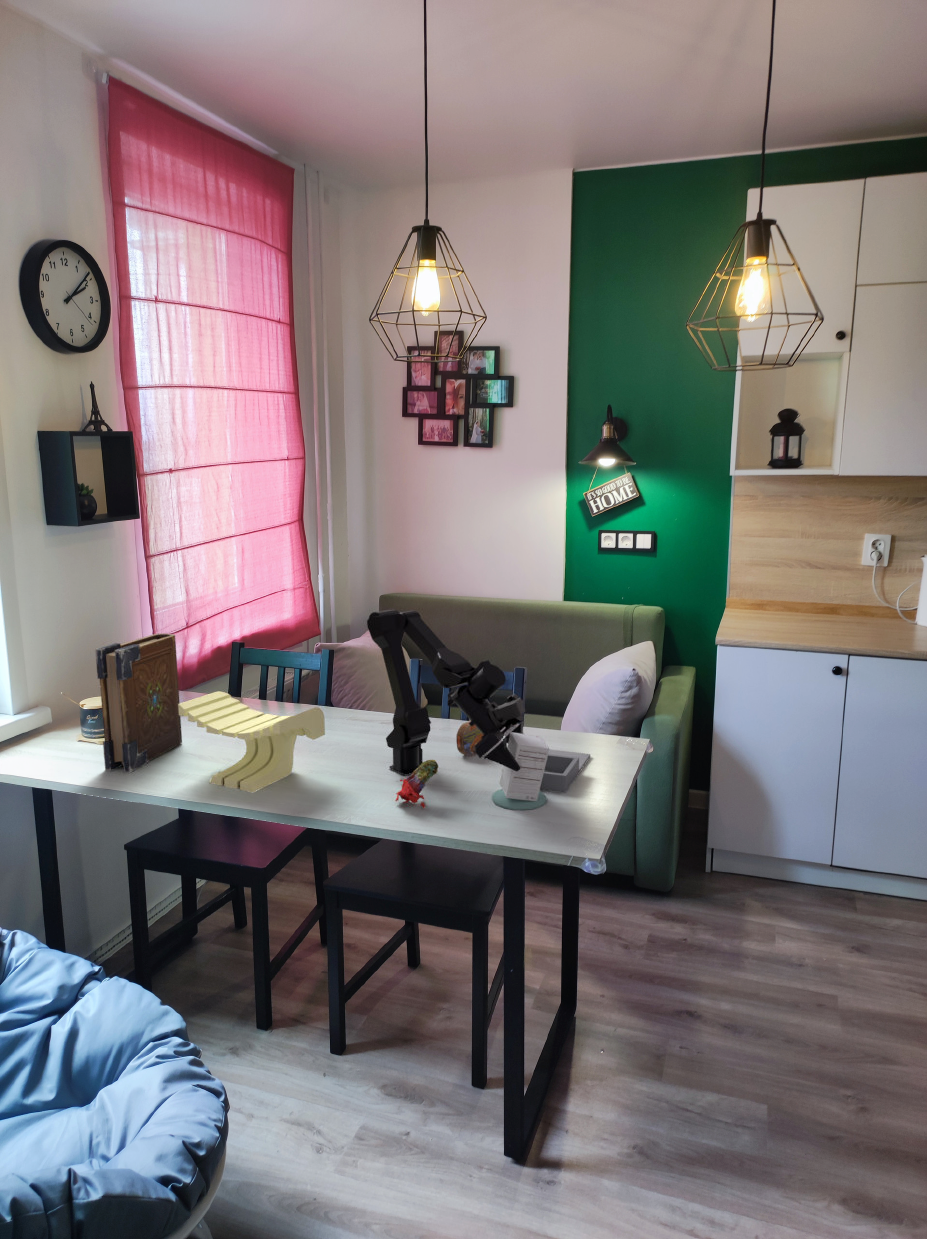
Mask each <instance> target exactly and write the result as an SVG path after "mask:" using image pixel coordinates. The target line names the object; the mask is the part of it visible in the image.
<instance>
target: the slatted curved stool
mask: <svg viewBox="0 0 927 1239" xmlns="http://www.w3.org/2000/svg"><path fill="white" fill-rule="evenodd" d="M178 708H179V716H180V717H187V722H192V723H195V722H196V727H198V728H205V729H206V730H205V731H206V733H207V734H213V735H221V736H224V737H229V738H237V739H239V740H243V741H245V746H246V752H245V754H244V755H243V757H242V758H240V760H238V761H237V762H236V763H235V764H233V765H231V766H229V767H228V768H226V769H224V770H221V771H219V772H217V773H215V774H213V775H211V779H210V781H209V783H210V784H214V785H218V786H224V787H227V788H231V789H236V790H237V789H239V790H240V791H243V790H244V792H248V791H249V792H248V793H252V792H253V793H255V792H257V791H259V790H261V789H264V788H265V787H267V786H269V785H271V784H273V782H274V783H276V782H278V781H279V779H280V780H282V779H284V778H286V777H288V776H289V775H291V773H292V771H293V768H294V767H293V766H294V750H295V745H296V741H297V738H298V737H299V736H300V737H304V736H306V737H307V738H308V739H311V740H312V741H314V740H317V739H319V738H321V737H323V736H325V735H326V728H325V727H326V726H325V724H326V722H325V714H324V712H323V710H322V709H321V708H320V707H317V706H315V707H312V708H310V709H307V710H305V711H302V712H301V713H297V714H294V715H281V716H280V715H274V714H270V713H264V712H262V711H258V710H255V709H252V708H250V706H249V705H247V704H245V703H242V702H241V701H240V700H238V699H236V698H233V697H232V695H231V694H229V693H227V692H225V691H214V692H211V693H208V694H205V695H201V696H198V697H195V698H193V699H190V700H186V701H184V702H180V704H178ZM287 775H288V776H287ZM283 777H284V778H283ZM281 778H282V779H281ZM275 781H276V782H275ZM258 789H259V790H258ZM256 790H257V791H256Z"/></svg>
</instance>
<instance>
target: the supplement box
mask: <svg viewBox="0 0 927 1239" xmlns="http://www.w3.org/2000/svg"><path fill="white" fill-rule="evenodd" d="M507 749H508V750H509V751H510V753H511V754H512V756H513V757H514V759H515V760H516V761H517V763H518V765H519V766H520V770H519V771H514V770H512V769H510V768H508V767H506V766H503V765H502V768H501V774H500V777H499V781H498V784H499V786H500V787H501V789H502V790H503V792H504V794H505V796H506V798H511V799H519V800H527V801H537V799H538V794H539V791H540V790H541V789H540V786H541V782H542V778H543V773H544V772H545V771H544V769H545V765H546V761H547V757H548V753H549V749H550V747H548V745H547V743H546V742H545V741H544V739H543V738H542V736H540V735H535V734H526V733H523V734H520V733H512V732H511V733H510V738H509V742H508V743H507Z"/></svg>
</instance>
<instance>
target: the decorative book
mask: <svg viewBox="0 0 927 1239" xmlns="http://www.w3.org/2000/svg"><path fill="white" fill-rule="evenodd" d="M176 641H177V640H176V635H175V634H173V633H154V634H150V635H146V636H143V637H139V638H136V639H134V640H130V641H127V642H123V643H118V642H113V643H111V644H107V645H103V646H101V647H98V648H95V649H94V650H95V663H96V676H97V679H98V680H99V685H100V687H99V688H100V697H101V698H100V702H101V712H102V722H103V724H102V725H103V736H104V741H102V747H103V758H104V760H103V761H104V770H105V771H108V772H110V771H111V772H112V771H114V770H116V769H118V768H120V767H122V766H123V772H124V773H128V774H131V773H132V772H134V771H136V770H138V769H141V768H142V767H144V766H146V765H148V764H149V762H150V761H151V760H153V759H155V758H156V757H158V756H160V755H162V754H165V753H166V752H167V751H170V750H172V749H173V748H175V747H177V746H179V745H181V744H182V743H183V736H182V719H181V717H182V716H179V708H178V704H180V703H181V702H180V690H179V689H180V688H179V674H178V673H179V672H178V659H177V658H178V657H177V646H176V644H177V642H176Z"/></svg>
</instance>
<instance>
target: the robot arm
mask: <svg viewBox="0 0 927 1239" xmlns="http://www.w3.org/2000/svg"><path fill="white" fill-rule="evenodd" d="M366 620H367V621H366V626H367V630H368V632H369V634H370V637H371V640H372V641H373V642H374V643H375V645H377V647H379V648H380V650H381V652H382V658H383V661H384V664H385V670H386V673H387V677H388V680H389V681H388V682H389V684H390V688H391V692H392V696H393V701H394V705H395V710H394V712H393V713H394V714H393V717H392V724H393V726H392V727H393V729H392V731H391V732H390V733H389V734H388V735H387V736H386V738H385V740H386V741H385V742H386V745H387V748H391V749H392V763H393V764H392V765H390V766H389V768H388V769H389V770H392V771H394V772H396V773H398V774H401V775H402V776H407V775H411V774H412V773H413V772H414V771H415V770H416V769H417V768H418V767H419V766H420V765H421V764H422V763H423V762H424V761H423V760H424V758H423V757H424V756H423V748H422V744H426V743H427V741H428V736H429V735H430V732H431V724H432V721H431V719H430V717H429V711H428V708H427V706H425V707H421V705H419V703H418V702H417V700H416V695H415V692H414V689H413V684H412V680H411V677H410V672H409V668H408V664H407V661H406V657H405V653H404V650H403V645H402V644H403V640H404V636H405V635H407V636H408V638H409V639H410V640H411V641H412V643H414V645H415V646H416V647H417V648H418V649H419V650H420V652H421V653H422V654H423V655H424V657H426V659H427V660H428V661H429V663H430V664H431V668H432V674H433V675H434V677H435V679H436V680H437V681H438V684H439V685H440V686H441V687H442V688H444V689H451V688H454V687H458V688H457V689H456V690H452V691H450V692H449V693H447V706H448V707H451V706H452V705H454V704H456V705H457V706H458V708H459V709H460V710H461V711H462V713H464V714H465V716H466V717H467V718H468V719H469V721H471V722H469V721H468V722H469V724H470V726H471V727H472V726H473V725H475V726H476V727H477V728H478V729H479V730H480V732H481V733H482V734H483V736H482V737H481V738H482V740H481V741H479V742H478V743H477V744H476V745H475V746H474V752H475V753H476V755H477V756H478V758H479V759H481V758H483V759H484V760H488V761H492V762H494V763H497V764H499V765H501V766H502V767H503V766H506V767H508V768H510V769H512V770H514V771H519V770H520V766H519V765H518V763H517V761H516V760H515V759H514V757H513V756H512V754H511V753H510V751H509V750H508V749H507V747H508V742H509V738H510V733H511V732H512V733H520V734H524V731H523V730H524V725H525V721H524V719H525V717H524V716H523V714H524V713H526V708H525V707H524V704H525V700H523V699H522V698H521V697H519V696H518V695H517V694H516V693H514V694H512V695H509V696H508V697H507V698H506V702H505V703H503V704H501V705H499V704H497V702H495V701H491V703H490V701H489V699H490V698H491V697H492V696H493V695H495V693H497V692H498V691H499V690H500V689H501V688H502V687H503V686H504V685H505V683H506V675H505V673H504V670H502V669H500V667H498V666H497V665H495V664H492V663H491V662H490V660H489V659H486V660H483V661H481V662H479V663H478V665H477V667H476V666H474V665H471V663H470V662H469V661H468V660H467V659H466V658H465V657H463V655H461V654H460V653H458V652H455V651H452V650H451V649H449V648H448V647H447V646H446V645H445V644H444V643H443V642H442V641H441V639H439V637H438V636H437V635H436V633H435V632H433V631H432V629H431V628H430V627H429V625H427V623H426V622H425V621H424V620H423V619H422V617H421V615H420V613H419V612H418V611H417V610H406V611H402V612H399V611H398V610H397V609H394V608H393V609H386V610H380V611H373V612H371V613H370V615H369V617H368V619H366ZM459 686H460V687H459ZM521 721H522V722H521Z"/></svg>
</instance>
